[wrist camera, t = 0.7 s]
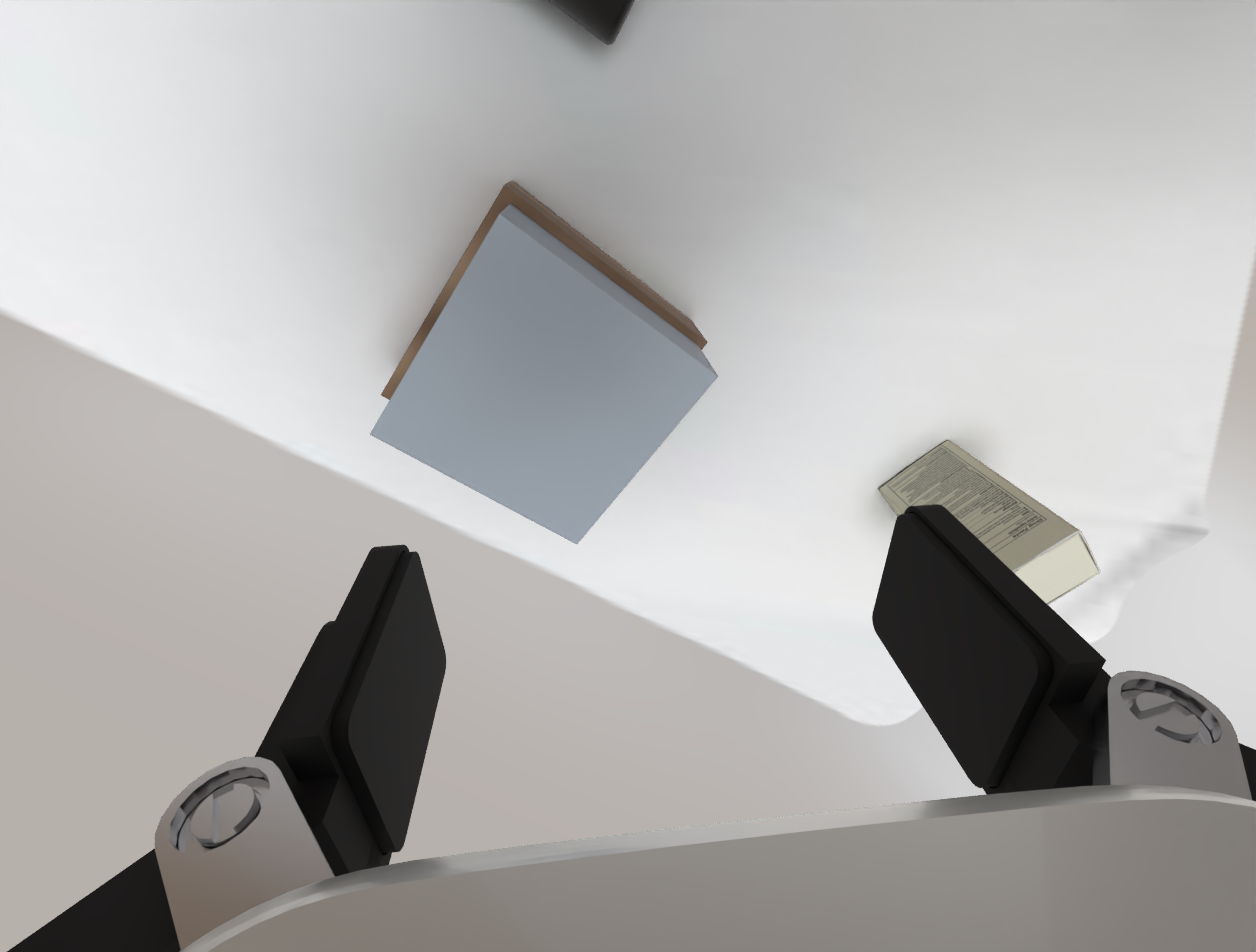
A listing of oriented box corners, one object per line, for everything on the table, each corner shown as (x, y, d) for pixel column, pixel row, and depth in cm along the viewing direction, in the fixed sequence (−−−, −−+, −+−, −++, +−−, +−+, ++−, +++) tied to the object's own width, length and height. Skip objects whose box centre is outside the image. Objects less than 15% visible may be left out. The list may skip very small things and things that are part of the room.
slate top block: (510, 203, 27) (499, 213, 23) (697, 345, 32) (718, 376, 27) (397, 395, 32) (369, 434, 27) (576, 496, 36) (576, 544, 32)
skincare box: (901, 521, 45) (1003, 634, 34) (875, 487, 43) (975, 596, 33) (975, 472, 43) (1106, 575, 33) (951, 434, 41) (1083, 531, 31)
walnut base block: (513, 180, 31) (504, 184, 27) (690, 319, 36) (707, 342, 32) (403, 365, 36) (380, 394, 31) (573, 467, 40) (574, 505, 36)
